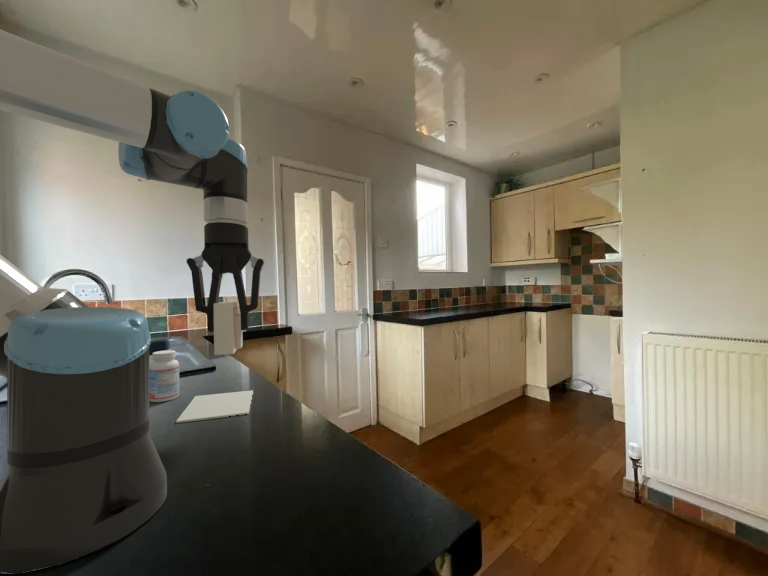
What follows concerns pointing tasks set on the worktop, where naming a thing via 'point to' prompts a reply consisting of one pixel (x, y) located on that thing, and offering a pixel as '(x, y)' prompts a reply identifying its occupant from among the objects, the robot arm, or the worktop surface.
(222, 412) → the mat
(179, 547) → the worktop surface
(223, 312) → the cream rectangular block
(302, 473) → the worktop surface
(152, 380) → the pill bottle
